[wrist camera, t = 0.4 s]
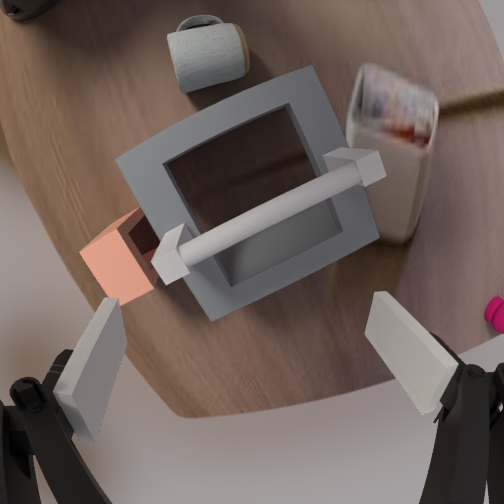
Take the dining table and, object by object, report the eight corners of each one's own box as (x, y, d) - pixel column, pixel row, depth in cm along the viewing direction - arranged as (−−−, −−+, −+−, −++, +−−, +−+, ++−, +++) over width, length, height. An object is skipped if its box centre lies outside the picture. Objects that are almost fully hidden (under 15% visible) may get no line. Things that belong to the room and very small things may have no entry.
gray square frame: (144, 154, 35) (84, 165, 17) (282, 87, 34) (341, 43, 16) (211, 273, 41) (212, 365, 24) (336, 211, 40) (417, 262, 23)
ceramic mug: (248, 82, 33) (256, 66, 26) (183, 99, 33) (175, 86, 26) (227, 13, 30) (230, -14, 22) (164, 29, 29) (154, 4, 22)
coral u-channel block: (111, 223, 37) (79, 252, 27) (141, 205, 37) (116, 228, 27) (138, 267, 40) (116, 307, 29) (168, 251, 39) (154, 288, 29)
